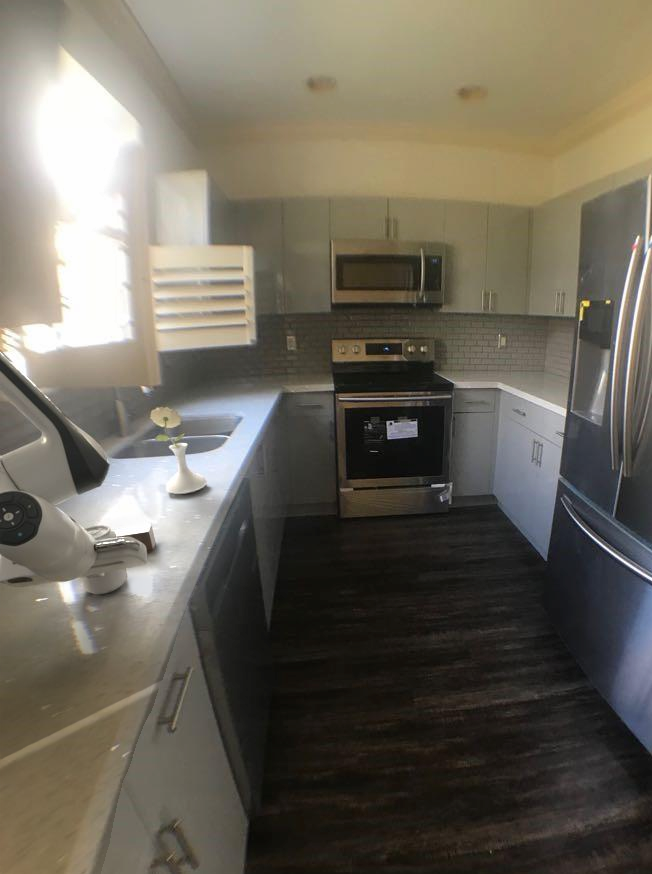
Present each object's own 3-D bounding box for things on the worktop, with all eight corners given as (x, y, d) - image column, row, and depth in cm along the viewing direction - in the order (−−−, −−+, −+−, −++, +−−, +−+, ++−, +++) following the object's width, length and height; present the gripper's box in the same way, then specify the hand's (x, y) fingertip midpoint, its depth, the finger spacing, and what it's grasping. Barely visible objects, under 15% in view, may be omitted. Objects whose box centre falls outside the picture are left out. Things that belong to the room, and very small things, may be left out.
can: (81, 586, 90) (63, 532, 86) (122, 570, 95) (107, 518, 91) (91, 601, 85) (73, 545, 81) (134, 584, 90) (119, 530, 86)
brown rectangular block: (82, 563, 98) (76, 543, 97) (87, 554, 102) (81, 534, 100) (153, 551, 102) (148, 531, 100) (155, 543, 106) (151, 523, 104)
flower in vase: (215, 483, 140) (200, 402, 131) (192, 498, 130) (174, 411, 120) (178, 481, 143) (161, 402, 134) (153, 495, 133) (133, 410, 124)
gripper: (134, 522, 76) (155, 546, 88) (-11, 544, 71) (33, 567, 83) (135, 558, 74) (157, 578, 86) (-15, 584, 68) (31, 602, 81)
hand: (95, 573), depth 84 cm, fingers closed, pressing on can
